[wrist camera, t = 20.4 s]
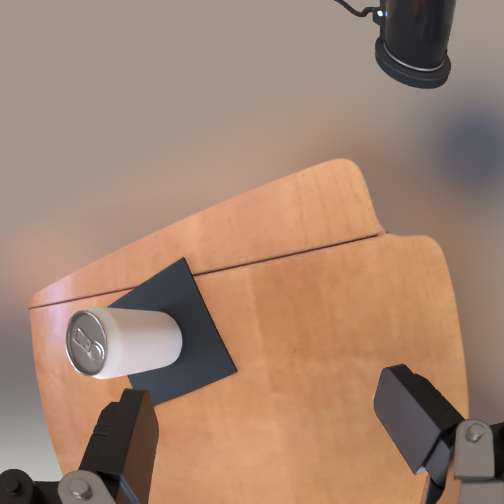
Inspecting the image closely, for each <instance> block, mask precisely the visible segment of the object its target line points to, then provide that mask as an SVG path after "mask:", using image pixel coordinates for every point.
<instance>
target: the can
mask: <svg viewBox="0 0 504 504" xmlns="http://www.w3.org/2000/svg"><path fill="white" fill-rule="evenodd" d="M65 344H66V350H67V354H68V357H69V359H70V361H71V363H72V365H73V366H74V367H75V369H76V370H77V371H78V372H80V373H81V374H83V375H85V376H93V377H96V378H99V379H107V378H114V377H119V376H124V375H130V374H134V373H139V372H144V371H148V370H153V369H157V368H161V367H165V366H168V365H170V364H172V363H173V362H175V361H176V360H177V358H178V357H179V354H180V352H181V348H182V334H181V331H180V328H179V326H178V324H177V323H176V321H175V320H174V319H173V318H172V317H171V316H169V315H168V314H166V313H163V312H157V311H144V310H131V309H118V308H105V307H92V308H89V309H87V310H85V311H84V310H83V311H78V312H76V313H75V314H74V315H73V316H72V317H71V318H70V320H69V322H68V325H67V328H66V334H65Z"/></svg>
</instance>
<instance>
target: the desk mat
mask: <svg viewBox="0 0 504 504" xmlns="http://www.w3.org/2000/svg"><path fill="white" fill-rule="evenodd" d="M107 308H118V309H131V310H144V311H157V312H163V313H166V314H168V315H169V316H171V317H172V318H173V319H174V320H175V321H176V323H177V324H178V326H179V328H180V331H181V334H182V348H181V352H180V354H179V357H178V358H177V360H176V361H175V362H173V363H172V364H170V365H168V366H165V367H161V368H157V369H153V370H148V371H144V372H139V373H134V374H130V375H127V376H128V378H129V381H130V383H131V385H132V388H133V389H147V390H148V391H149V393H150V397H151V400H152V404H153V406H154V405H156V404H159V403H162V402H165V401H167V400H170V399H173V398H175V397H178V396H180V395H183V394H186V393H188V392H191V391H193V390H196V389H198V388H200V387H203V386H205V385H208V384H210V383H212V382H215V381H217V380H219V379H222V378H224V377H226V376H229V375H231V374H233V373H235V372H237V370H236V368H235V366H234V364H233V362H232V360H231V358H230V356H229V354H228V352H227V350H226V347H225V345H224V343H223V341H222V339H221V337H220V335H219V333H218V331H217V329H216V327H215V325H214V323H213V320H212V318H211V316H210V314H209V312H208V310H207V308H206V305H205V303H204V301H203V299H202V297H201V294H200V292H199V290H198V288H197V285H196V283H195V281H194V279H193V276H192V274H191V272H190V270H189V267H188V265H187V263H186V260H185V258H184V257H183V258H181V259H180V260H178V261H177V262H175V263H174V264H172V265H170V266H169V267H167V268H166V269H164V270H163V271H161V272H160V273H158V274H157V275H155V276H153V277H152V278H150V279H149V280H147V281H146V282H144V283H143V284H141V285H140V286H138V287H137V288H135V289H134V290H132V291H131V292H129V293H128V294H126V295H125V296H123V297H122V298H120V299H119V300H117V301H116V302H114V303H113V304H111V305H110V306H108V307H107Z"/></svg>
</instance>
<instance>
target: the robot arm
mask: <svg viewBox="0 0 504 504" xmlns="http://www.w3.org/2000/svg"><path fill="white" fill-rule="evenodd" d="M335 1H337V2H339V3H340V4H341V5H343V6H344V7H345V8H346V9H347V10H348V11H350V12H351V13H352V14H354V15H356V16H358V17H365V16H366V15H367V14H368V13H369V12H373V21H374V22H375V23H377V24H378V25H380V42H381V43H382V44H383V45H384V50H385V52H386V54H387V55H388V57H389V58H390V59H392V60H393V61H394V62H395V63H397V64H399V65H400V66H402V67H404V68H407V69H409V70H412V71H416V72H421V73H433V72H436V71H438V70H440V69H441V68H442V66H443V63H444V58H445V52H446V55H447V45H448V40H449V36H450V31H451V27H452V21H453V16H454V11H455V5H456V0H380V7H367V8H365V9H364V10H363V11H362V12H358V11H356V10H354V9H353V8H352V7H351V6H349V5H348V4H347V3H346V2H344V1H343V0H335ZM374 410H375V413H376V415H377V417H378V418H379V420H380V421H381V423H382V424H383V426H384V427H385V429H386V431H387V432H388V434H389V435H390V437H391V438H392V440H393V442H394V443H395V445H396V446H397V448H398V449H399V451H400V453H401V454H402V456H403V457H404V459H405V461H406V462H407V464H408V465H409V467H410V468H411V470H412V472H413V473H414V475H416V474H418V473H421V472H423V471H425V470H427V472H428V473H429V474H428V475H427V477H426V480H425V485H424V490H423V494H422V499H421V503H420V504H504V422H502V423H498V424H495V425H490V426H489V425H488V424H487V423H485V422H483V421H482V420H479V419H467V420H465V419H464V418H463V417H462V416H461V414H460V413H459V412H458V411H457V410H456V409H455V408H454V407H453V406H452V405H451V404H450V403H449V402H448V401H447V400H446V398H445V397H444V396H442V394H441V393H440V392H439V391H438V390H436V389H435V387H434V386H433V385H432V384H431V383H430V382H429V381H428V380H427V379H426V378H424V377H422V376H420V375H418V374H413V372H412V371H411V370H410V369H409V368H408V367H407V366H406V365H405V364H399V365H395V366H391V367H387V368H384V369H383V370H382V372H381V376H380V379H379V383H378V387H377V391H376V394H375V398H374ZM158 437H159V427H158V421H157V417H156V414H155V411H154V407H153V404H152V400H151V397H150V393H149V391H148V390H147V389H130V388H126V389H124V391H123V394H122V396H121V399H120V401H119V402H111V403H110V404H109V405H107V406H106V407H105V408H104V409H103V410H102V411H101V414H100V416H99V419H98V421H97V425H96V426H95V428H94V431H93V434H92V436H91V438H90V441H89V443H88V446H87V448H86V451H85V453H84V456H83V459H82V461H81V464H80V466H79V469H78V470H76V471H72V472H70V473H68V474H66V475H65V476H64V477H63V478H62V479H61V480H60V481H57V482H45V481H44V482H42V481H33V480H32V479H31V478H30V477H29V475H28V474H26V473H25V472H24V471H21V470H18V469H9V470H6V471H4V472H3V473H1V474H0V504H148V499H149V492H150V485H151V479H152V472H153V466H154V460H155V454H156V448H157V443H158Z"/></svg>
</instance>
